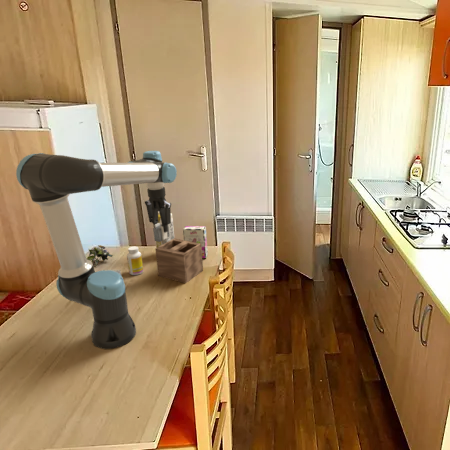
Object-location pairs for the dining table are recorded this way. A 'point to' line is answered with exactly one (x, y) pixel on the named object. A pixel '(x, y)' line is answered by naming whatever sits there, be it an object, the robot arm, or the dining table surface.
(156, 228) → the grey rectangular block
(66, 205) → the robot arm
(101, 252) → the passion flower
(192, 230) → the candy bar box
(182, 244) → the wooden compartment box
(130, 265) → the supplement bottle
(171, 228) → the juice carton
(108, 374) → the dining table surface
